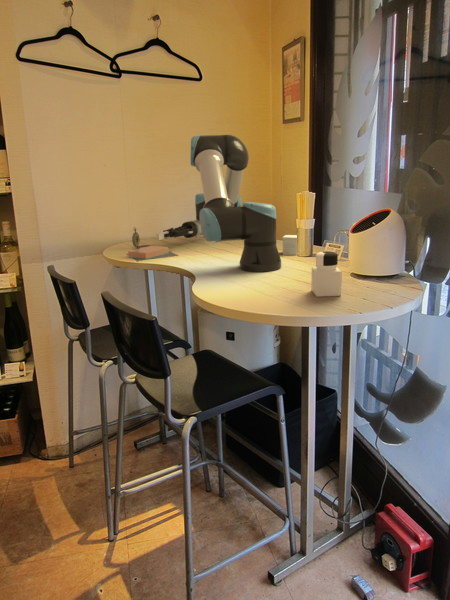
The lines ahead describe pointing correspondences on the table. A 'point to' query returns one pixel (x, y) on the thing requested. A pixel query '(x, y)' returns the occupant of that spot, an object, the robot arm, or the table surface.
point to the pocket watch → (137, 240)
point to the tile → (148, 252)
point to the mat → (158, 256)
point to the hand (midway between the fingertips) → (157, 236)
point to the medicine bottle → (326, 275)
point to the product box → (290, 245)
